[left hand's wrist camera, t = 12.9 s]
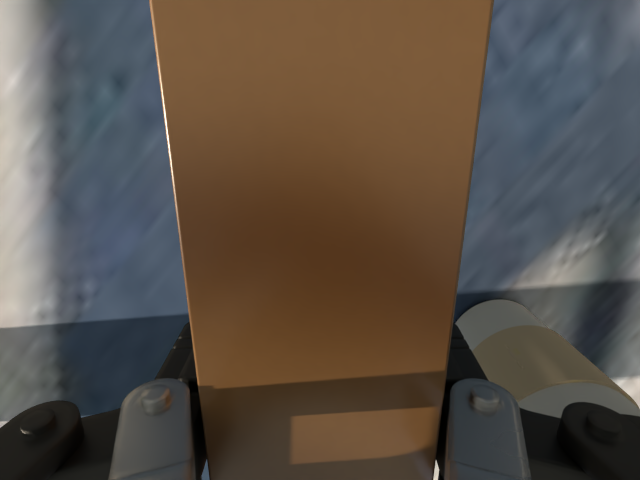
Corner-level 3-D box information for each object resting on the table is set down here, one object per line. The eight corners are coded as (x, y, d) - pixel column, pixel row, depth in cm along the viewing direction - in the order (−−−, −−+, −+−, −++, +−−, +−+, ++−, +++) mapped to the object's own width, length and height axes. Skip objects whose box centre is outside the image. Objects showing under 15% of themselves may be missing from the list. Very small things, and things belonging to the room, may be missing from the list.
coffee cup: (572, 303, 31) (782, 486, 17) (520, 394, 34) (659, 613, 20) (461, 273, 30) (584, 441, 16) (418, 370, 33) (489, 581, 19)
